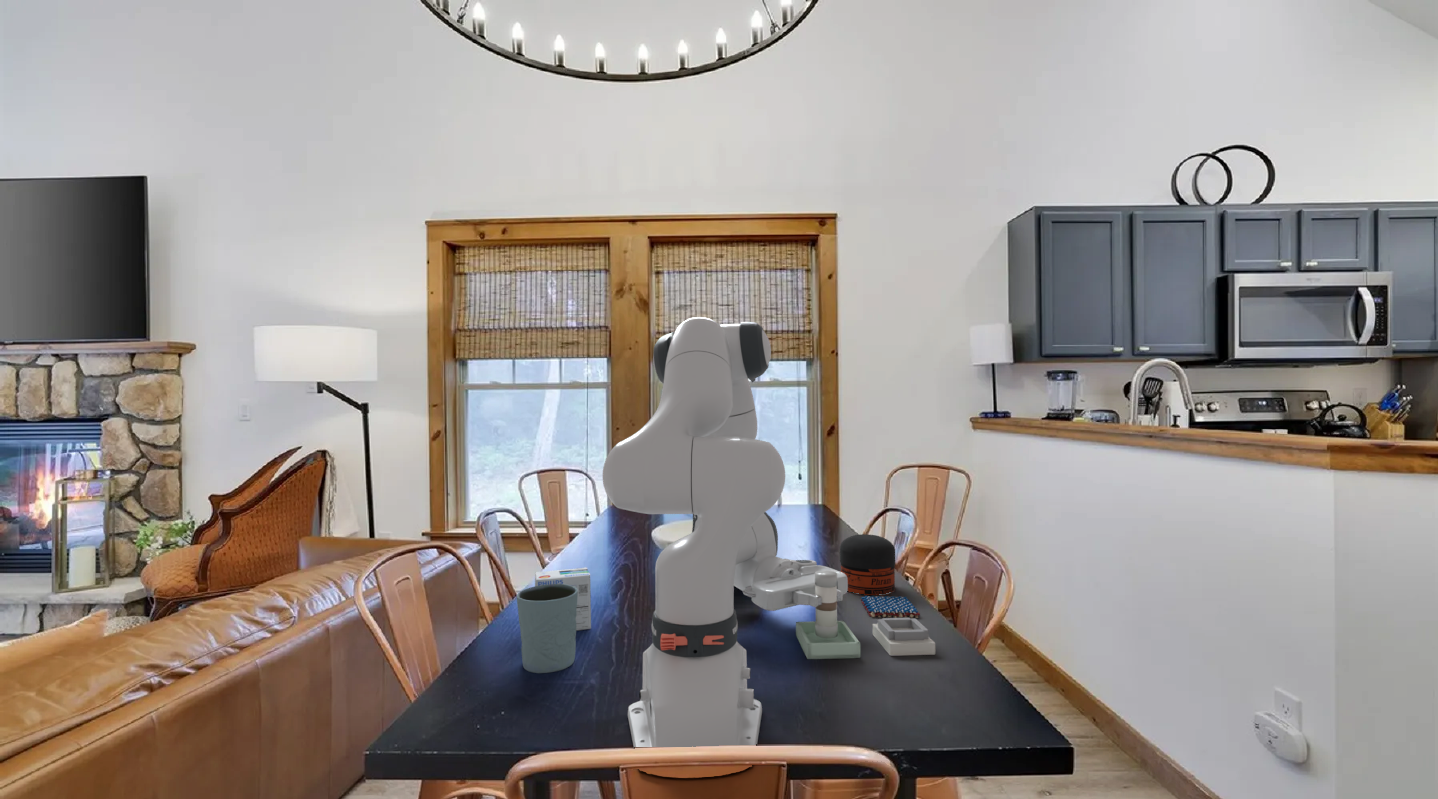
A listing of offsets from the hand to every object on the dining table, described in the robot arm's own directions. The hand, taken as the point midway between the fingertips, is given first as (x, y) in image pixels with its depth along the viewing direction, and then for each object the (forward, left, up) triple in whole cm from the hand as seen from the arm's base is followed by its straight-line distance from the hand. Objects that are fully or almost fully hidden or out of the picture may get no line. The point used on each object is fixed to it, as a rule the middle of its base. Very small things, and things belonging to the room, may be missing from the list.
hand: (829, 599), depth 108 cm
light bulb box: (+14, +50, -9) cm, 53 cm away
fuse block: (+1, -14, -9) cm, 16 cm away
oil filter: (+36, -18, -9) cm, 41 cm away
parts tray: (+1, 0, -9) cm, 9 cm away
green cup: (-3, +49, -9) cm, 50 cm away
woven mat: (+20, -18, -9) cm, 28 cm away
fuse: (+1, 0, -6) cm, 7 cm away
